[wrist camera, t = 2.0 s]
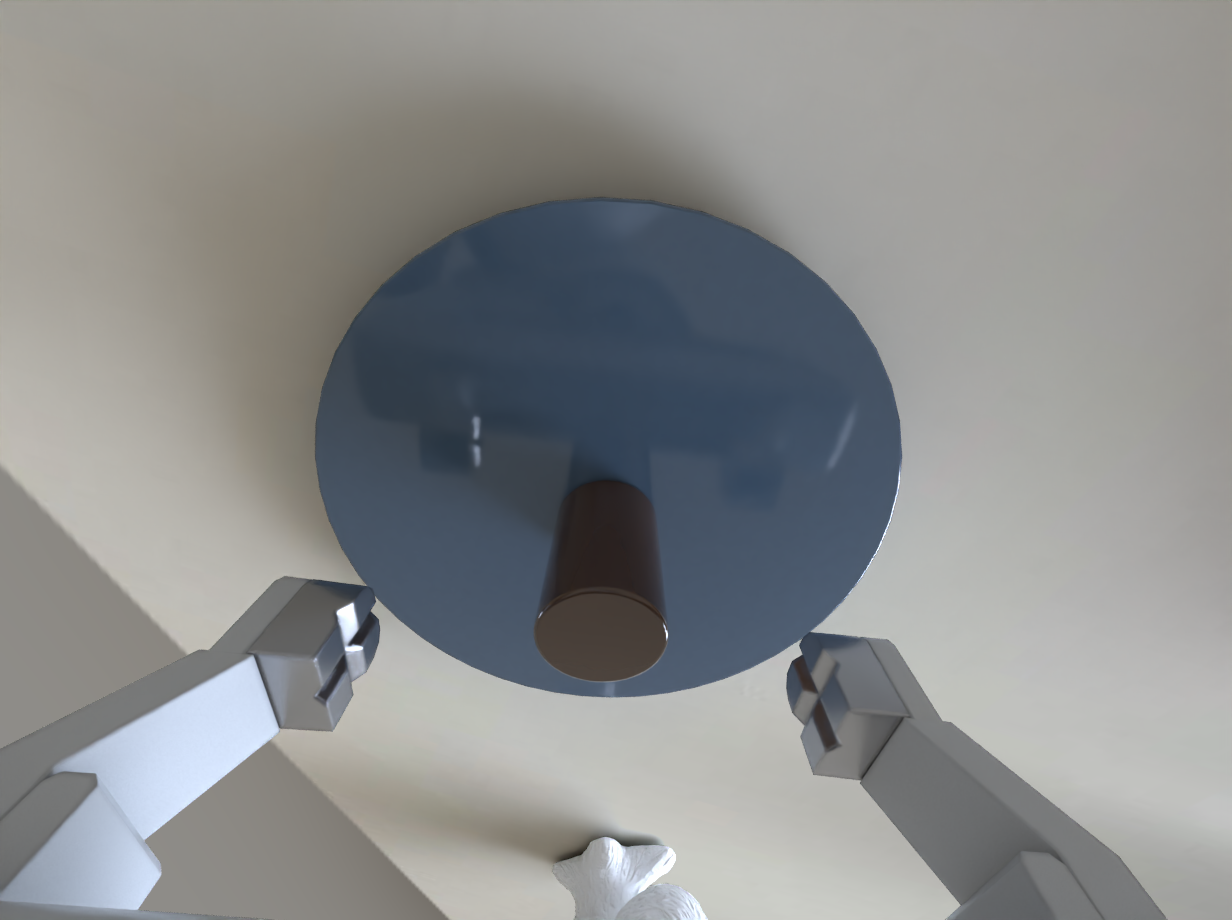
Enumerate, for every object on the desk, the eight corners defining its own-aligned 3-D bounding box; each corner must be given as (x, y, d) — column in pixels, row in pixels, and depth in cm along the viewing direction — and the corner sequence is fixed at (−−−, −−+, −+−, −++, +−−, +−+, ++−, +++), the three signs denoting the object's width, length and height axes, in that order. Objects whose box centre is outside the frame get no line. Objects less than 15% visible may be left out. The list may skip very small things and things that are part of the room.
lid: (287, 149, 9) (-13, 102, 5) (985, 247, 9) (1270, 282, 5) (377, 644, 15) (287, 807, 11) (784, 682, 16) (840, 849, 12)
